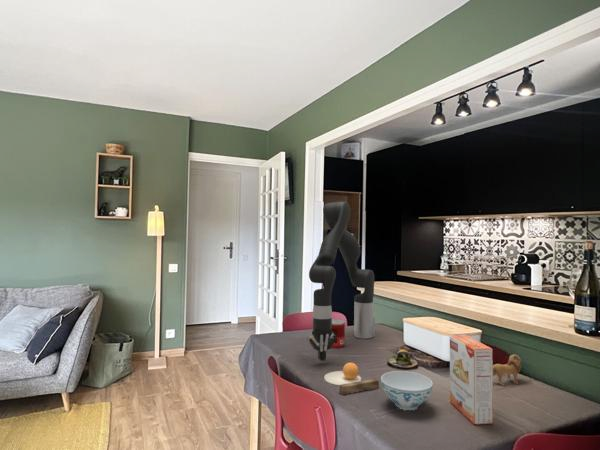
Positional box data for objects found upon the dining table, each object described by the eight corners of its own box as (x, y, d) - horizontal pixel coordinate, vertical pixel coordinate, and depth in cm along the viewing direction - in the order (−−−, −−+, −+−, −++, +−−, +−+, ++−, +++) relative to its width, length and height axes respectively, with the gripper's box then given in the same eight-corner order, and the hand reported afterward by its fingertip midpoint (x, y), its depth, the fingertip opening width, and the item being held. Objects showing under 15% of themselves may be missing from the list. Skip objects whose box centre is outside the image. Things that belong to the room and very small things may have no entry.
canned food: (344, 343, 179) (344, 319, 179) (344, 348, 171) (344, 323, 171) (328, 342, 180) (328, 319, 180) (327, 347, 172) (327, 323, 172)
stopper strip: (375, 385, 130) (375, 378, 130) (378, 388, 129) (378, 380, 129) (339, 392, 125) (339, 384, 125) (342, 395, 123) (342, 387, 123)
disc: (348, 369, 145) (348, 369, 145) (368, 382, 133) (368, 381, 133) (318, 374, 140) (318, 374, 140) (335, 388, 128) (335, 387, 128)
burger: (382, 366, 150) (382, 347, 150) (394, 358, 159) (394, 340, 160) (412, 373, 143) (412, 353, 143) (422, 364, 152) (422, 345, 152)
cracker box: (448, 402, 118) (448, 334, 118) (467, 401, 119) (467, 334, 119) (472, 425, 104) (472, 348, 104) (494, 424, 105) (494, 347, 105)
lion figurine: (511, 376, 139) (511, 351, 139) (525, 382, 135) (525, 356, 135) (483, 383, 133) (483, 357, 133) (497, 389, 128) (497, 362, 128)
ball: (351, 367, 141) (355, 357, 138) (358, 380, 137) (363, 371, 134) (338, 370, 139) (342, 361, 136) (345, 384, 135) (350, 374, 132)
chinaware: (375, 395, 123) (375, 371, 123) (420, 394, 124) (420, 370, 124) (389, 418, 108) (389, 391, 108) (441, 417, 109) (441, 389, 109)
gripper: (332, 312, 158) (332, 355, 157) (303, 315, 152) (302, 359, 152) (341, 316, 151) (341, 360, 151) (311, 319, 145) (311, 365, 145)
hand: (322, 360), depth 151 cm, fingers closed
